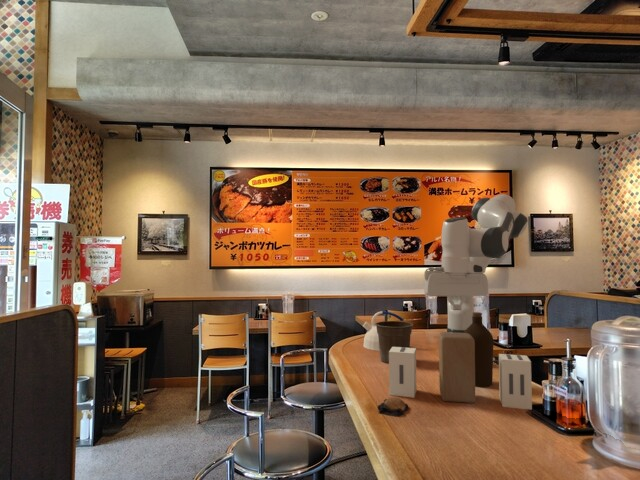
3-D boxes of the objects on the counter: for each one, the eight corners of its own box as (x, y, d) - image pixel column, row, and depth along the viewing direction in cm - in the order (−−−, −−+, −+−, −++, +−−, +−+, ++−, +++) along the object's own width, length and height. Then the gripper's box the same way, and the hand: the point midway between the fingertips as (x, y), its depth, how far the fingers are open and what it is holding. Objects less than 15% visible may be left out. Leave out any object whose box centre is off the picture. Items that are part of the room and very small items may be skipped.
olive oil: (479, 389, 140) (477, 315, 141) (456, 381, 149) (455, 311, 151) (501, 385, 145) (499, 313, 146) (477, 377, 154) (476, 310, 155)
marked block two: (499, 398, 131) (498, 353, 132) (527, 400, 129) (526, 354, 129) (502, 406, 123) (501, 359, 124) (532, 409, 121) (531, 361, 122)
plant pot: (388, 367, 168) (388, 327, 169) (368, 358, 183) (368, 322, 184) (421, 363, 175) (420, 325, 176) (399, 355, 190) (399, 319, 190)
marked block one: (392, 387, 142) (392, 346, 142) (416, 390, 139) (416, 347, 140) (389, 395, 134) (388, 351, 134) (414, 397, 131) (413, 352, 132)
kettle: (363, 342, 219) (363, 308, 220) (402, 343, 216) (402, 309, 217) (361, 350, 199) (361, 313, 200) (405, 352, 196) (405, 314, 197)
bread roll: (383, 403, 128) (383, 391, 128) (410, 407, 124) (410, 395, 125) (374, 415, 118) (374, 402, 118) (403, 419, 115) (403, 406, 115)
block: (476, 404, 125) (475, 338, 126) (442, 401, 127) (441, 336, 128) (470, 393, 135) (469, 332, 136) (439, 391, 137) (438, 331, 138)
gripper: (427, 267, 129) (428, 311, 129) (490, 267, 131) (491, 311, 130) (421, 266, 136) (421, 309, 135) (481, 267, 137) (481, 308, 137)
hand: (456, 310), depth 133 cm, fingers closed
